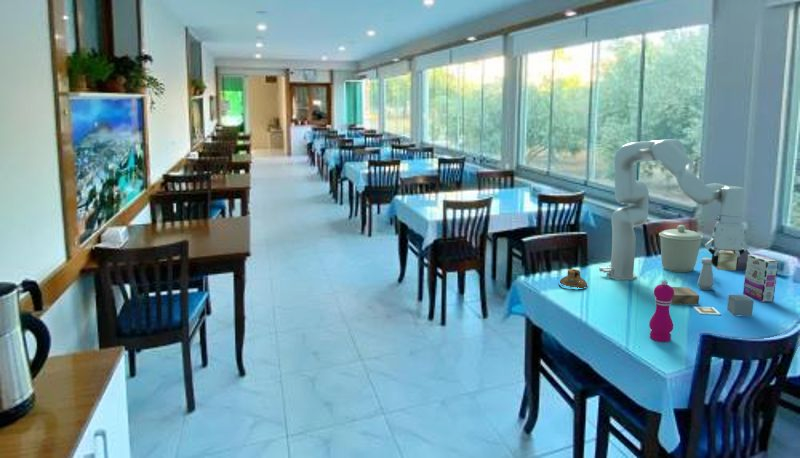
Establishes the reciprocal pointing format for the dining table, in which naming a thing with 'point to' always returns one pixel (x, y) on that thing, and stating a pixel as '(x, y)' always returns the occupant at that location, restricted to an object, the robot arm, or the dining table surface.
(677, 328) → the dining table surface
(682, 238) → the canister
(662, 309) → the pepper mill
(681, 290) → the walnut block
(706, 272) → the salt shaker
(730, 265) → the maple cube
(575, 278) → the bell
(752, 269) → the candy bar box
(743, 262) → the flask
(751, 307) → the grey cube
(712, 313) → the card
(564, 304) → the dining table surface
